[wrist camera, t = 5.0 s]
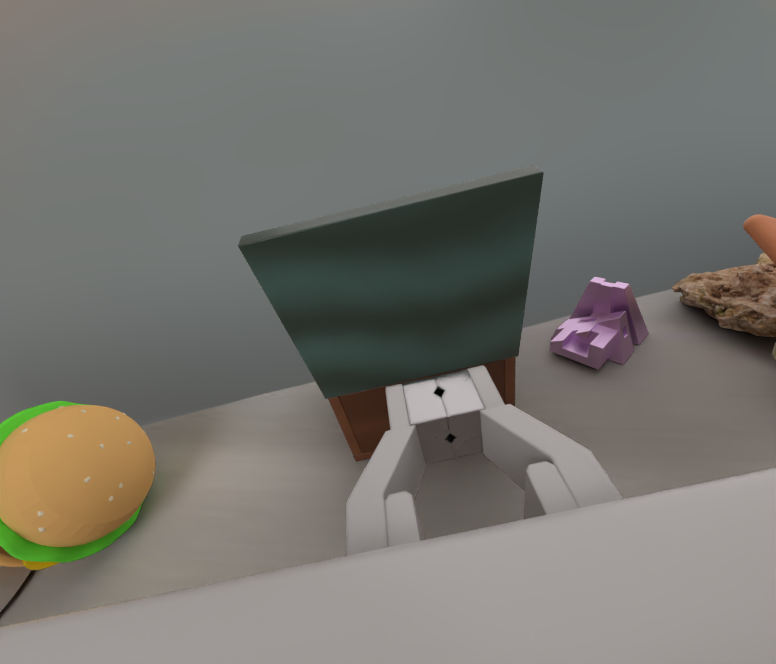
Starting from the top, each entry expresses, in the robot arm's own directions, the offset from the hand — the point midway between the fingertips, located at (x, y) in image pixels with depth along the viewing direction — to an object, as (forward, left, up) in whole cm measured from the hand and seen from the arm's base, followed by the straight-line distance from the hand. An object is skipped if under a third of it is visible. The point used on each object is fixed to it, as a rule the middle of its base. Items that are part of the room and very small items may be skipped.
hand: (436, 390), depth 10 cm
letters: (+18, +18, -17) cm, 31 cm away
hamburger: (-32, +10, -12) cm, 36 cm away
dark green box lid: (0, +10, -3) cm, 10 cm away
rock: (+33, +23, -16) cm, 43 cm away
